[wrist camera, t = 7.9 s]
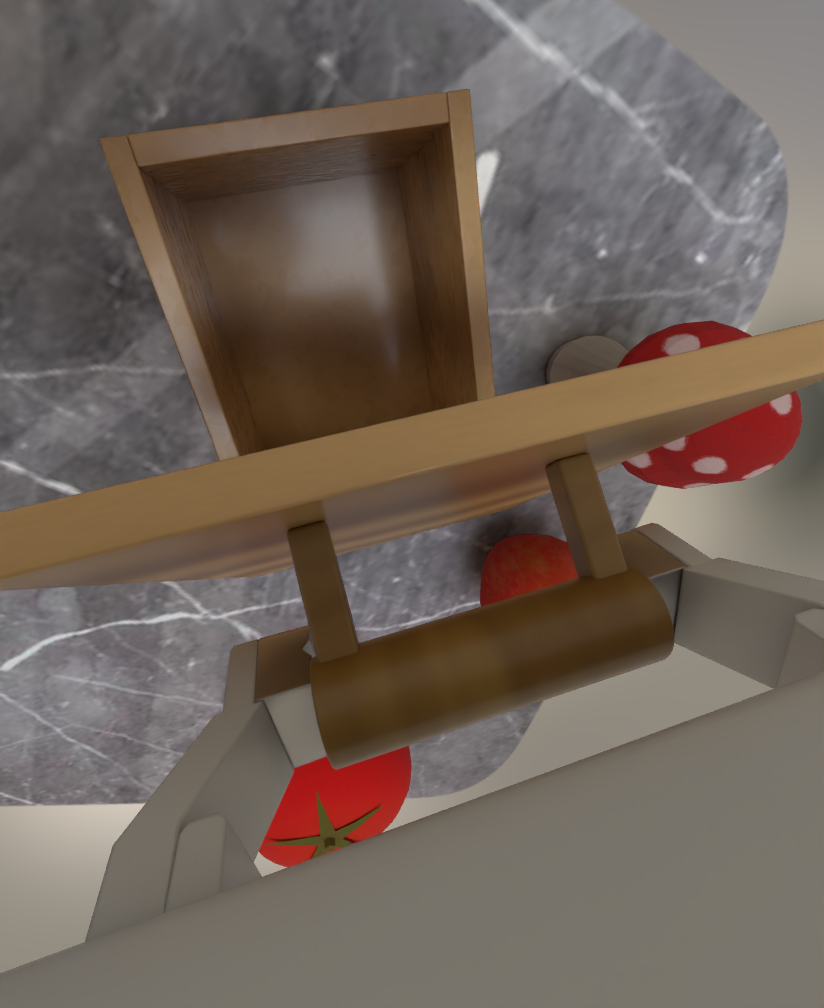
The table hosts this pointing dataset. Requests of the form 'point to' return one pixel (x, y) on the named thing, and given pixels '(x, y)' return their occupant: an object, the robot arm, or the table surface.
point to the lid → (418, 508)
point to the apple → (524, 566)
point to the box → (316, 264)
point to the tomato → (336, 806)
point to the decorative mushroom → (710, 451)
